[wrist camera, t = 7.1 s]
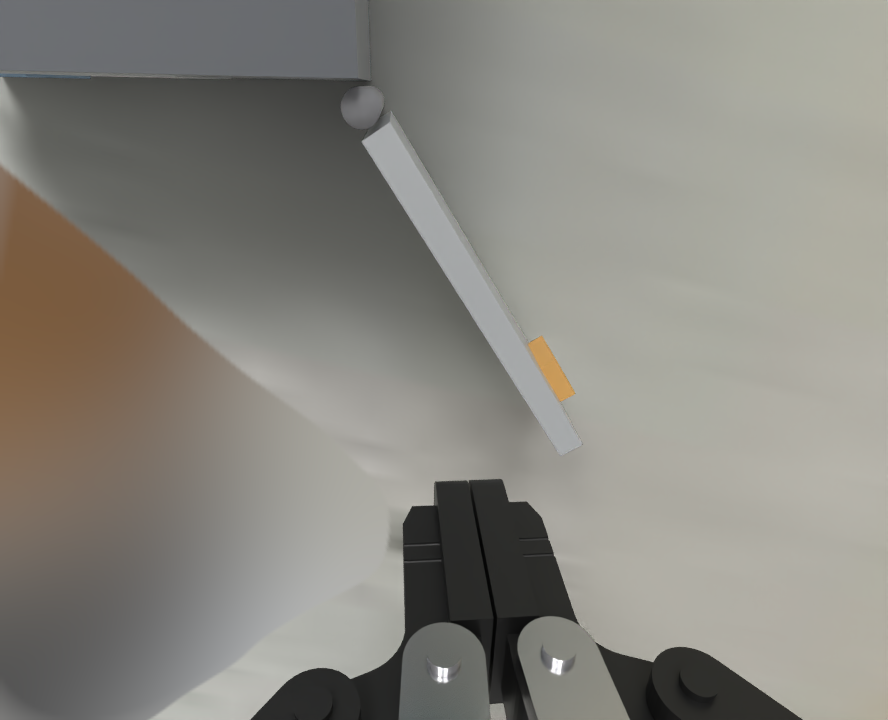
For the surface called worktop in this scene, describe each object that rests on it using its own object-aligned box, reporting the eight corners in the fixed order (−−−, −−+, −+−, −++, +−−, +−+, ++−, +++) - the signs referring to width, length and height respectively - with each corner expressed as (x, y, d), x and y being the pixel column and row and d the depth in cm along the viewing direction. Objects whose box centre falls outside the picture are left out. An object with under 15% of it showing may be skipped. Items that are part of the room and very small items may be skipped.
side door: (515, 358, 24) (559, 458, 18) (353, 95, 19) (332, 100, 13) (545, 341, 24) (601, 437, 17) (388, 70, 19) (386, 63, 12)
